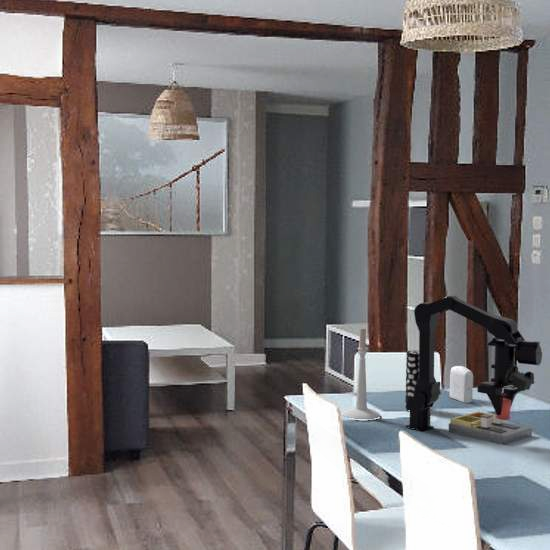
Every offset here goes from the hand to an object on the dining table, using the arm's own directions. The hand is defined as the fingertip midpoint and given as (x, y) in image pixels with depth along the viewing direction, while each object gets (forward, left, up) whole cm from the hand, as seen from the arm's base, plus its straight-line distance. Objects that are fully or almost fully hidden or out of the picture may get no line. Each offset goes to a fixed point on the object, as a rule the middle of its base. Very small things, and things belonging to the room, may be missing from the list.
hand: (502, 413), depth 247 cm
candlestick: (-9, +48, -9) cm, 50 cm away
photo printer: (+38, +42, -9) cm, 57 cm away
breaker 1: (+2, +7, -6) cm, 9 cm away
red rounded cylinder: (0, 0, -1) cm, 1 cm away
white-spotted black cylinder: (+13, +42, -9) cm, 45 cm away
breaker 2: (+9, +7, -6) cm, 13 cm away
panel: (+5, +8, -8) cm, 12 cm away
